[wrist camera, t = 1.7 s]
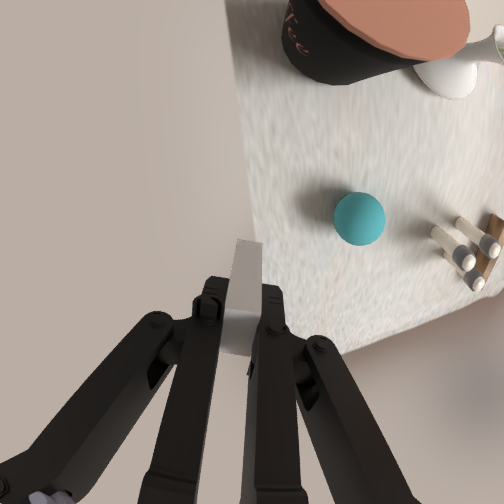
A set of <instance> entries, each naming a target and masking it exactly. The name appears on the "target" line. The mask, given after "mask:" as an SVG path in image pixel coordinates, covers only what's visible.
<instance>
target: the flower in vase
mask: <svg viewBox="0 0 504 504" xmlns="http://www.w3.org/2000/svg"><path fill="white" fill-rule="evenodd" d="M476 62H495V63H499V64H501V65H504V26H502V25H499V24H498V25H496V26H495V27H494V28H493V32H492V34H491V35H490V36H489V37H488V38H486V39H484V40H481V41H479V42H474V43H467V42H466V44H465V46H464V47H463V48H462V49H461V50H459V51H458V52H457V53H456V54H455V55H453V56H452V57H449V58H444V59H439V60H434V61H429V62H426V63H421V64H417V65H413V67H414V69H415V71H416V73H417V74H418V76H419V77H420V78H421V80H422V81H423V82H424V83H425V84H426V85H427V86H428V87H429V88H430V89H431V90H432V91H433V92H435V93H436V94H438V95H439V96H441V97H443V98H446V99H450V100H459V99H462V98H464V97H465V96H467V95H468V94H469V93H470V92H471V91H472V90H473V88H474V86H475V82H476V76H477V68H476Z"/></svg>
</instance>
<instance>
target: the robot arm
mask: <svg viewBox="0 0 504 504" xmlns="http://www.w3.org/2000/svg"><path fill="white" fill-rule="evenodd" d="M219 352H223V353H229V354H235V355H243V356H249V357H250V356H251V361H250V365H249V368H248V372H247V375H249V379H248V395H247V410H246V426H245V442H244V456H243V473H242V486H241V499H240V503H239V504H309V502H308V496H307V493H306V491H305V490H304V489H303V488H302V486H301V476H300V456H299V439H298V424H297V408H296V400H297V403H298V406H299V409H300V411H301V414H302V417H303V419H304V422H305V425H306V427H307V430H308V433H309V436H310V438H311V441H312V444H313V446H314V449H315V451H316V454H317V457H318V460H319V462H320V465H321V468H322V470H323V473H324V476H325V478H326V481H327V484H328V486H329V489H330V492H331V494H332V497H333V499H334V502H335V504H421V503H420V502H419V501H418V500H417V499H415V497H413V495H412V493H411V491H410V488H409V486H408V484H407V482H406V480H405V478H404V476H403V475H402V472H401V470H400V468H399V466H398V464H397V462H396V460H395V458H394V456H393V454H392V452H391V450H390V448H389V446H388V444H387V442H386V440H385V438H384V436H383V435H382V432H381V430H380V428H379V426H378V424H377V422H376V421H375V419H374V417H373V415H372V413H371V411H370V409H369V407H368V405H367V403H366V402H365V400H364V398H363V396H362V394H361V392H360V391H359V388H358V386H357V385H356V383H355V381H354V379H353V377H352V375H351V373H350V372H349V370H348V368H347V366H346V364H345V363H344V361H343V359H342V357H341V355H340V353H339V352H338V350H337V348H336V346H335V344H334V343H333V342H332V341H331V340H330V339H329V338H327V337H325V336H322V335H314V336H311V337H309V338H308V339H307V340H305V339H302V338H300V337H297V336H295V335H293V334H292V333H291V332H290V330H289V328H288V326H287V325H286V324H285V313H284V303H283V292H282V291H281V289H280V288H279V286H275V285H269V284H262V243H258V242H252V241H246V240H241V239H238V240H237V245H236V250H235V255H234V260H233V265H232V270H231V276H230V279H228V278H222V277H216V276H211V277H209V278H208V279H207V280H206V282H205V285H204V288H203V291H202V294H201V295H200V296H198V297H196V298H195V299H194V300H193V308H192V316H191V317H189V318H186V319H182V320H173V319H172V317H171V316H170V315H168V314H167V313H165V312H161V311H153V312H150V313H148V314H146V315H145V316H144V317H143V318H142V319H141V320H140V321H139V322H138V323H137V324H136V325H135V326H134V327H133V329H132V330H131V331H130V332H129V333H128V334H127V335H126V336H125V337H124V338H123V339H122V340H121V342H120V343H119V344H118V345H117V346H116V347H115V348H114V349H113V350H112V352H111V353H110V354H109V355H108V356H107V357H106V358H105V359H104V361H102V363H101V364H100V365H99V366H98V367H97V368H96V369H95V370H94V372H93V373H92V374H91V375H90V376H89V377H88V378H87V380H86V381H85V382H84V383H83V384H82V385H81V386H80V388H79V389H78V390H77V391H76V392H75V393H74V394H73V396H72V397H71V398H70V399H69V400H68V401H67V403H66V404H65V405H64V406H63V407H62V408H61V410H60V411H59V412H58V413H57V415H56V416H55V417H54V418H53V419H52V420H51V422H50V423H49V424H48V425H47V427H46V428H45V429H44V430H43V431H42V433H41V434H40V435H39V436H38V438H37V439H36V440H35V441H34V443H33V444H32V445H31V446H30V448H29V449H28V450H26V451H25V452H22V453H20V454H18V455H17V456H15V457H13V458H11V459H9V460H7V461H5V462H3V463H0V503H1V504H76V503H78V502H79V501H80V500H81V499H83V498H84V497H85V496H86V495H87V494H88V493H89V491H90V490H91V489H92V487H93V486H94V485H95V483H96V482H97V480H98V479H99V477H100V476H101V474H102V473H103V471H104V470H105V468H106V467H107V465H108V464H109V462H110V461H111V459H112V458H113V456H114V455H115V453H116V452H117V450H118V449H119V447H120V445H121V444H122V443H123V441H124V440H125V438H126V437H127V435H128V434H129V432H130V431H131V429H132V428H133V426H134V425H135V423H136V422H137V420H138V419H139V417H140V416H141V414H142V413H143V411H144V410H145V408H146V407H147V405H148V404H149V402H150V401H151V399H152V398H153V396H154V394H155V393H156V392H157V390H158V389H159V387H160V386H161V384H162V383H163V381H164V380H165V378H166V377H167V375H168V374H169V372H170V371H171V369H172V368H173V366H174V365H175V364H177V368H176V371H175V375H174V378H173V382H172V385H171V388H170V392H169V396H168V399H167V403H166V407H165V410H164V414H163V418H162V422H161V425H160V429H159V433H158V437H157V441H156V445H155V449H154V453H153V457H152V461H151V465H150V468H149V470H148V471H147V472H146V474H145V476H144V478H143V481H142V485H141V489H140V494H139V498H138V503H137V504H196V503H197V494H198V486H199V480H200V473H201V465H202V459H203V451H204V445H205V438H206V432H207V425H208V418H209V412H210V405H211V399H212V393H213V386H214V380H215V374H216V368H217V362H218V354H219ZM251 352H252V353H251Z"/></svg>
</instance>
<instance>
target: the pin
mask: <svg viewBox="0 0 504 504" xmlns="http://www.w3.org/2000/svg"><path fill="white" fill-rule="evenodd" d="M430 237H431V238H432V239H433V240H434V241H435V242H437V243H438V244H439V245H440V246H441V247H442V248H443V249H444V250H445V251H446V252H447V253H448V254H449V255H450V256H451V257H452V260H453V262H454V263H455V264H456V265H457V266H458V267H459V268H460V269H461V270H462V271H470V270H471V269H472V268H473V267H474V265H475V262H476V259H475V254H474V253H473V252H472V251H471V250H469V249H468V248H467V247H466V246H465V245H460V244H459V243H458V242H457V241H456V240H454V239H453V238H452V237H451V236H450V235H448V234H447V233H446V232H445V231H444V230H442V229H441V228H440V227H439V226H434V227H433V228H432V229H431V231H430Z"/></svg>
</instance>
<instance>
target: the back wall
mask: <svg viewBox="0 0 504 504" xmlns="http://www.w3.org/2000/svg"><path fill="white" fill-rule="evenodd" d="M485 234H490V235H491V236H492V237H494V238H495V239H496V240H498V241H499V243H500V247H501V249H502V247H503V245H504V220H502V219H501V218H499V217H498V216H496V215H494V214H492V216H491V219H490V222H489V225H488V227H487V230H486V233H485ZM501 249H500V252H501ZM499 254H500V253H499ZM498 256H499V255H498ZM498 256H497V257H496V258H494V259H493V258H492V259H489V258H488V257H487V256H486V255H485V254H484V253H482V252H481V251H480V249H479V250H478V252H477V254H476V256H475V259H476V262H475V265H474V267H475V268H476V269H477V270H478V271H479V272H480V273H481V274H482V275H483V276H484V280H485V283H486V281H487V279H488V277H489V275H490V273H491V271H492V269H493V267H494V265H495V263H496V261H497V259H498ZM484 285H485V284H484ZM483 287H484V286H483ZM482 289H483V288H482ZM482 289H481V290H482Z"/></svg>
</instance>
